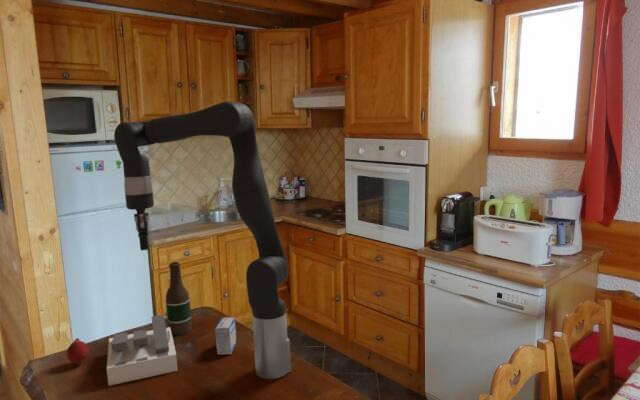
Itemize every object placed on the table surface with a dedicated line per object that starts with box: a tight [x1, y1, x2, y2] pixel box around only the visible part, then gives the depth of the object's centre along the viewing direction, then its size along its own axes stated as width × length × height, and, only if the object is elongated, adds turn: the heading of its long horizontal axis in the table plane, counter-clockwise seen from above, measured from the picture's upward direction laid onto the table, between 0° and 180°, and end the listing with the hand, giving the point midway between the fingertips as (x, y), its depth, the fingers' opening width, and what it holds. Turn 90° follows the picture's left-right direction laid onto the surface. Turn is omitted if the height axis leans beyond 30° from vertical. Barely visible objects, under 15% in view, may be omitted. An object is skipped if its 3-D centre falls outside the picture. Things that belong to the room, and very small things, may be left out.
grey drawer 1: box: [151, 314, 169, 354], centre depth 139 cm, size 4×16×2 cm, turn 22°
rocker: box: [133, 329, 147, 346], centre depth 137 cm, size 4×16×2 cm, turn 22°
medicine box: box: [214, 317, 237, 356], centre depth 144 cm, size 8×4×9 cm, turn 179°
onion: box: [66, 337, 90, 365], centre depth 138 cm, size 6×6×8 cm
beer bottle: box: [165, 261, 193, 336], centre depth 157 cm, size 8×8×24 cm
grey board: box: [112, 332, 128, 350], centre depth 135 cm, size 4×16×2 cm, turn 22°
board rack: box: [106, 326, 179, 387], centre depth 138 cm, size 18×20×8 cm
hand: (144, 249), depth 138 cm, fingers closed
